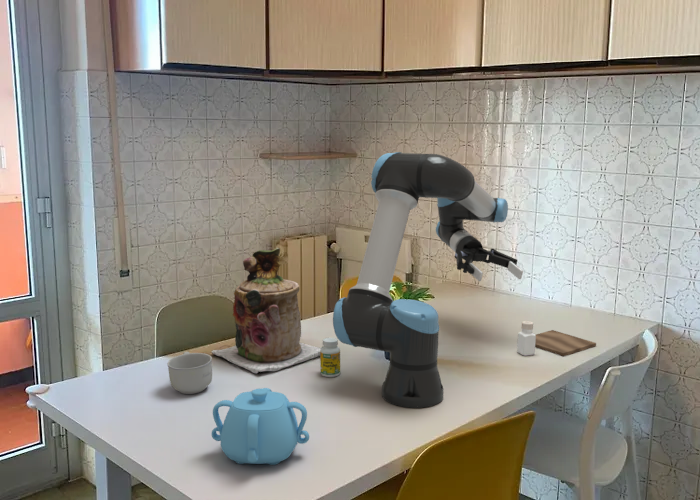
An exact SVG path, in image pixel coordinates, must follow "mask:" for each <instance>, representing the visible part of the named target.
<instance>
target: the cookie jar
mask: <svg viewBox="0 0 700 500" xmlns="http://www.w3.org/2000/svg"><path fill="white" fill-rule="evenodd" d="M280 252H281V248H279V247H276V248H274V249H273V250H264V249H263V250H262V249H260V250H257V251H255V252H253V253H252V256H250V257H247V258H245V259H244V260H243V261H242V264H243V268H244V272H245V271H246V272H248V273H249V274H248V275H247V277H246V279H245V280H244V281H241V283H240V284H239V285H238V286H237V287H236V288H235V290H234V292H233V295H234V300H233V304H232V306H233V307H232V311H233V313H232V317H234V323H235V324H234V325H235V329H236V331H235V338H234V342H235V345H233V346H230V347H227V348H224V349H223V348H222V349H214V350H211V353H212V354H213V355H215V356H217V357H221V358H223V359H224V360H227V361H228V362H229V363H231V364H234V365H236V366H238V367H241V368H243V369H246V370H248V371H249V372H251V373H254V374H258V373H259V372H260V373H261V372H279V371H280V370H282V369H286V368H287V367H292V366H293V365H297V364H301V363H302V362H306V361H309V360H312V359H315V358H318V357H320V349H321V347H319V346H314V345H312V344H306V343H302V342H300V341H301V337H302V322H301V311H300V307H299V300H298V293H299V291H300V285H299V283H298V282H296V281H293V280H289V279H284V278H283V277H282V276H281V275H278V272H279V270H280V266H282V265H281V263H280V259H281V258H280V254H281V253H280Z"/></svg>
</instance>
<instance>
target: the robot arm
mask: <svg viewBox="0 0 700 500" xmlns="http://www.w3.org/2000/svg"><path fill="white" fill-rule="evenodd" d="M370 178H371V182H370V183H371V189H372V190H373V192H374V193H375V194H374V197H375V199H376V200H377V202H378V204H377V208H376V210H375V211H376V212H375V216H374V219H373V223H372V226H371V228H370V229H371V230H370V232H369V233H370V234H369V236H368V241H367V244H366V249H365V251H364V257H363V259H362V263H361V267H360V271H359V274H358V277H357V278H358V279H357V283H356V284H355V285H354V286H352V287H350V288H349V289H348V293H347V297H345V296H344V297H342V298H339V299H338V301H336V303H335V305H334V308H333V314H332V325H333V330H334V331H333V332H334V333H335V334H334V335H335V336H336V339H337V340H338V342H339V341H340V343H343V344H346V345H348V346H352V347H355V348H365V349H370V350H376V351H381V352H386V353H389V365H388V369H387V372H386V375H385V379H384V381H383V383H382V387H381V397H382V398H383V399H384V401H386V402H387V403H389V404H392V405H395V406H398V407H403V408H412V409H415V408H416V409H417V408H419V409H420V408H427V407H428V408H429V407H431V406H435V405H438V404H439V403H441V402H442V401H443V400H444V387H443V386H444V385H443V384H442V380H441V376H440V372H439V369H438V355H439V354H438V353H439V351H438V350H439V331H440V325H439V313H438V311H437V309H436V308H434V306H432V304H431V305H430V304H429V303H426V302H424V301H420V300H417V299H416V300H415V299H405V298H400V299H395V300H394V299H393V298H392V296H391V295H390V290H391V286H392V283H393V278H394V274H395V270H396V266H397V262H398V258H399V255H400V251H401V247H402V244H403V243H402V242H403V239H404V235H405V233H406V232H405V231H406V228H407V223H408V220H409V215H410V211H411V210H413V209H415V208H416V207H418V203H419V199H420V198H424V199H425V198H426V199H429V198H431V199H437V204H436V206H437V212H438V219H439V221H438V222H437V224H436V227H435V234H436V235H437V237H438V238H439V239H440V240H441V241H442V242H443V243H445V245H447V247H449V248H450V249H452V251H453V252H454V259H455V260H456V269H457V270H458V271H461V270H462V273H464V274H467V273H469V274H470V275H471V276H473V278H475V280H476V281H478V282H482V278H483V274H484V273H483V272H484V271H482V270H481V269H480V268H479V267H477V266H476V265H475V264H474V263H473V262H483V263H486V264H490V263H491V264H494V265H497V266H500V267H504V268H507V271H508V272H510V273H511V274H512V275H513V276H514V277H516V278H517V279H518V280H522V277H523V273H524V270H523V269H521V268H520V267H519V265H517V264H518V259H517V258H514V257H513V256H511V255H510V256H509V255H507V254H505V253H503V252H500V251H497V250H496V249H495V248H490V250H487V249H485V248H484V247H483V244H482V242H481V241H480V240H478V239H477V238H476V237H474V236H473V235H472V234H471V233H469V231H467V230H466V229H465V228H464V221H477V222H490V223H493V224H495V223H504V222H505V221H506V220H507V217H508V213H509V205H508V200H507V199H506V198H499V197H493V196H492V195H491V194H490V193H489V192H488V191H486V190H485V189H484V188H483V187H482V185H480V184H479V183H478V182H477V181H476V179H475V177H474V174H473V173H472V172H471V171H470V170H469V169H468V167H465V165H463V164H461V163H460V162H458V161H456V160H454V159H452V158H450V157H449V156H448V157H447V156H445V155H442V154H437V153H410V152H400V151H396V152H388V153H384V154H382V155H381V156H379V158H377V160H376V161H375V163H374V166H373V168H372V172H371V177H370ZM463 261H464V262H463Z"/></svg>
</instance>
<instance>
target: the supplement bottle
mask: <svg viewBox="0 0 700 500" xmlns="http://www.w3.org/2000/svg"><path fill="white" fill-rule="evenodd" d="M338 342H339V339H338V338H337V337H325V338H323V339H322V346H321V347H320V348H321V349H320V356H319V357H320V359H319V360H320V362H319V363H320V364H319V365H320V367H319V369H320V375H321V376H323V377H324V378H325V377H326V378H335V377H338V376H339V375H341V348H340V347H339V346H338V345H339V343H338Z"/></svg>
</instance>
